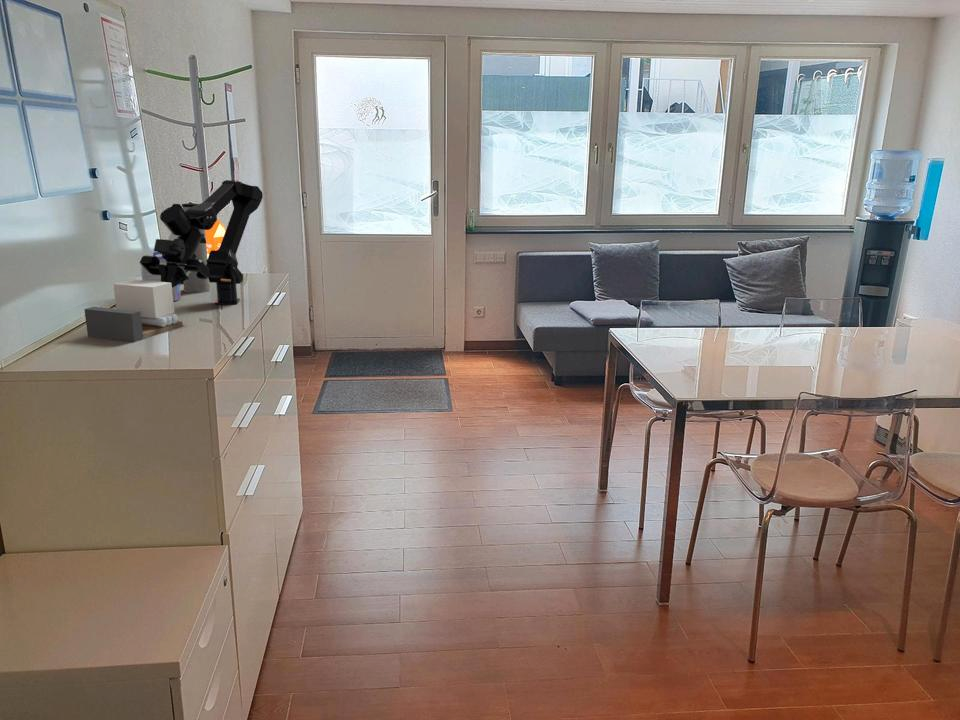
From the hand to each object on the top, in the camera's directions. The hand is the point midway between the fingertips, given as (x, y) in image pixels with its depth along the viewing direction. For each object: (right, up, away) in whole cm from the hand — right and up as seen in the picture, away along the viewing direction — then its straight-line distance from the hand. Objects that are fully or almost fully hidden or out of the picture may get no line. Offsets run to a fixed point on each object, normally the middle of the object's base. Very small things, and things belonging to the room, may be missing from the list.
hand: (162, 292), depth 201 cm
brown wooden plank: (-3, -11, -8) cm, 13 cm away
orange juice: (-11, +12, +72) cm, 74 cm away
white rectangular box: (-2, -8, -4) cm, 10 cm away
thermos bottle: (-8, +5, +46) cm, 46 cm away
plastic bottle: (-18, +9, +59) cm, 62 cm away
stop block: (-5, -13, -14) cm, 20 cm away
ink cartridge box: (-13, 0, +30) cm, 33 cm away
